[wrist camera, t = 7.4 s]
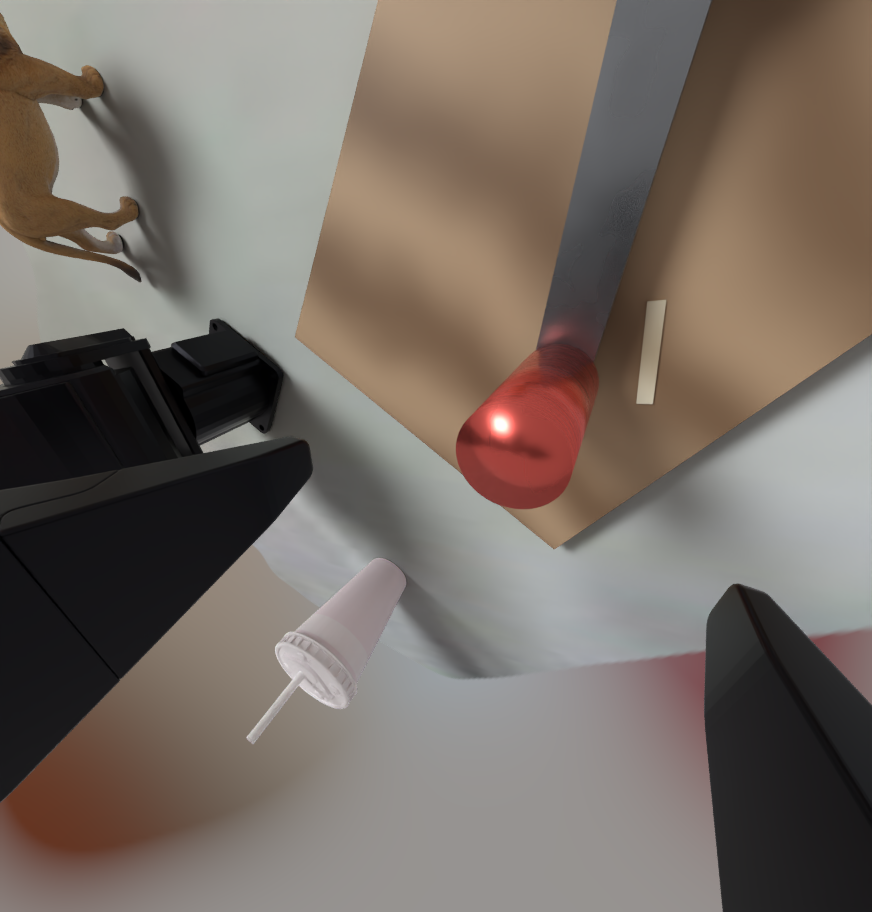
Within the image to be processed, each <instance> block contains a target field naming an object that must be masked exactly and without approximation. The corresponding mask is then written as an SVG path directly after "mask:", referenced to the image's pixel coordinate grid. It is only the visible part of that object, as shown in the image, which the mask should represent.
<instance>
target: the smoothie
mask: <svg viewBox="0 0 872 912" xmlns="http://www.w3.org/2000/svg"><path fill="white" fill-rule="evenodd" d="M405 587H406V578H405V576H404V574H403V572H402V571H401V570H400V569H399V568H398V567H397V566H396V565H395V564H394V563H392V562H391V561H389V560H386V559H383V558H375V559H373V560H372V561H371V562H370V563H369V564H368V565H367V566H366V567H365V568H363V569H362V570H361V571H360V572H359V573H358V574H357V575H356V576H355V577H354V578H352V579H351V580H350V581H349V582H348V583H347V584H346V585H345V586H344V587H343V588H341V589H340V590H339V591H338V592H337V593H336V594H335V595H334V596H333V597H332V598H330V599H329V600H328V601H327V602H326V603H325V604H324V605H323V606H322V607H321V608H320V609H318V611H316V612H315V613H314V614H313V615H312V616H310V617H309V618H308V620H306V621H305V622H304V623H303V624H302V625H301V626H300V627H299V628H298V629H297V630H296V631H294V632H288V633H286V634H285V635H284V637H283V639H282V640H281V641H280V642H279V643H278V644H277V645H276V647H275V653H276V657H277V659H278V661H279V663H280V664H281V666H282V667H283V669H284V670H285V672H286V673H287V674H288V675H289V676H290V677H291V678H292V681H291V682H290V683H289V685H288V686H287V687H286V688H285V690H284V691H283V692H282V694H281V695H280V696H279V697H278V698H277V700H276V701H275V702H274V704H273V705H272V706H271V707H270V709H269V710H268V711H267V712H266V714H265V715H264V716H263V717H262V719H261V720H260V721H259V722H258V724H257V725H256V726H255V727H254V729H253V730H252V731H251V733H250V734H249V735H248V736H247V739H248V741H250V742H251V743H252V744H254V743H255V741H256V740H257V739H258V737H259V736H260V735H261V734H262V732H263V731H264V730H265V728H266V727H267V726H268V724H269V723H270V722H271V721H272V719H273V718H274V716H275V715H276V714H277V713H278V712H279V710H280V709H281V708H282V706H283V705H284V704H285V702H286V701H287V700H288V699H289V697H290V696H291V695H292V693H293V692H294V691H295V689H296V688H297V687H298V686H300V687H301V688H302V689H303V690H304V691H305V692H307V693H308V694H309V695H311V696H312V697H314V698H315V699H317V700H318V701H320V702H322V703H323V704H325V705H328V706H330V707H332V708H336V709H344V708H346V707H347V706H348V705H349V703H350V701H351V700H352V698H353V697H354V696H355V695H356V694H357V686H356V683H357V682H358V679H359V678H360V676H361V674H362V672H363V670H364V668H365V666H366V664H367V662H368V660H369V658H370V656H371V654H372V652H373V650H374V648H375V646H376V644H377V642H378V640H379V638H380V636H381V634H382V632H383V630H384V628H385V626H386V624H387V622H388V620H389V618H390V616H391V614H392V612H393V610H394V608H395V606H396V605H397V603H398V601H399V599H400V597H401V595H402V593H403V591H404V589H405Z"/></svg>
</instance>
